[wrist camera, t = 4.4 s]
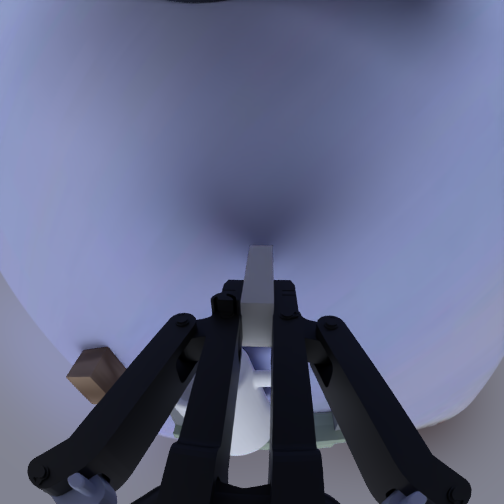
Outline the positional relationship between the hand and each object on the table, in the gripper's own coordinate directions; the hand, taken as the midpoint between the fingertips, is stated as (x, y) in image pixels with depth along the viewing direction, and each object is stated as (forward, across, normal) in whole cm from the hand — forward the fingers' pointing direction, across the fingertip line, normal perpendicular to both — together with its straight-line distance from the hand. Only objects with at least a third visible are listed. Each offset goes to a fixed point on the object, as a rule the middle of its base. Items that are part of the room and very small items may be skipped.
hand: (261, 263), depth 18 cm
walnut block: (+2, -19, -16) cm, 24 cm away
